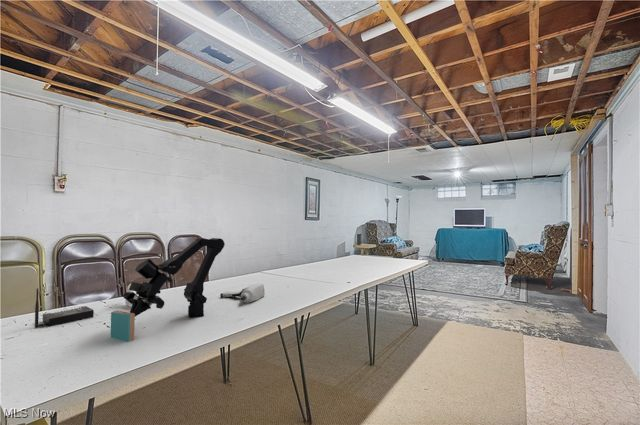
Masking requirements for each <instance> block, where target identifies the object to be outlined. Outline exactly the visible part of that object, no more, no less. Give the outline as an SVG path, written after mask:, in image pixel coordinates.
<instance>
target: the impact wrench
mask: <svg viewBox="0 0 640 425" xmlns="http://www.w3.org/2000/svg"><path fill="white" fill-rule="evenodd" d="M265 292H266V291H265V286H264V283H254V284H251V285H248V286H246V287H244V288H242V289H241V290H240V291H226V290H225V291H223V293H220V295H219V296H220V298H223V299H225V298H229V297H230V298H231V297H232V298H233V297H234V298H235V297H238V298H240V301H241V302H243V303H245V304H250V303H253V302H256V301H258V300H260V299H261V298H263V297H264V296H265Z"/></svg>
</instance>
